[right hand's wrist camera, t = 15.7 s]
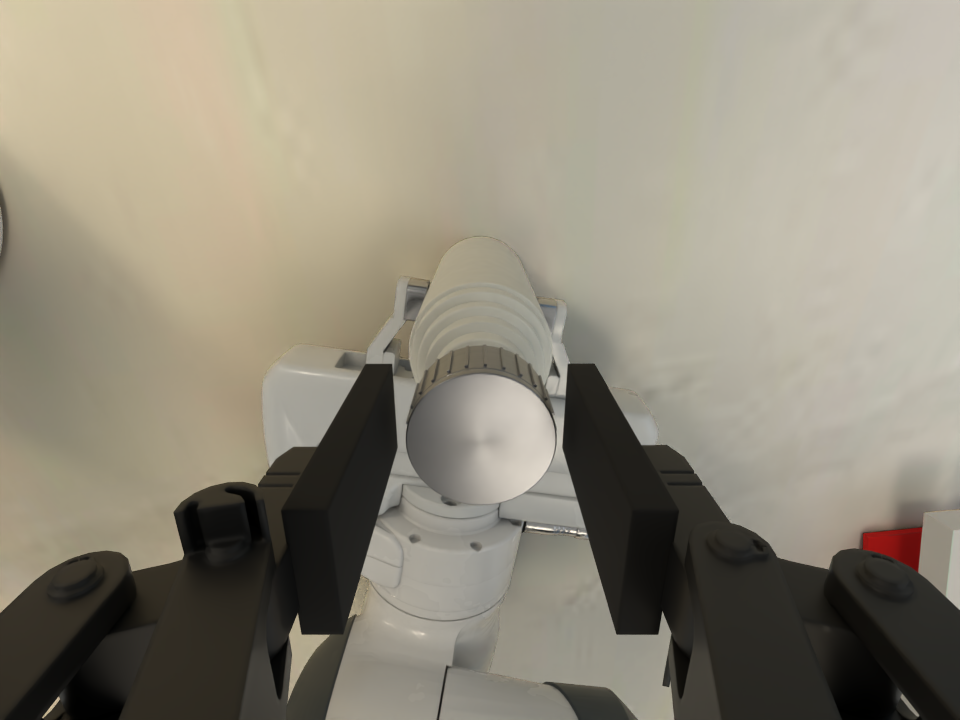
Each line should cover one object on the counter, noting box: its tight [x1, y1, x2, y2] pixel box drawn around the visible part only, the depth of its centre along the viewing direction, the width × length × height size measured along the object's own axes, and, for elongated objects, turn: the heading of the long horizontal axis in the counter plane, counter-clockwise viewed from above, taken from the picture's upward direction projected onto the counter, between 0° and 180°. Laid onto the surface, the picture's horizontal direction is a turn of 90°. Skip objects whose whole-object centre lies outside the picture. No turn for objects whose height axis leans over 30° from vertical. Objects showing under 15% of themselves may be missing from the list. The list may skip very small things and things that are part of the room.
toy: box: [863, 509, 960, 717], centre depth 36 cm, size 12×13×30 cm
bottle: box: [409, 236, 553, 385], centre depth 22 cm, size 5×5×19 cm
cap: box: [406, 344, 557, 505], centre depth 14 cm, size 4×4×2 cm
